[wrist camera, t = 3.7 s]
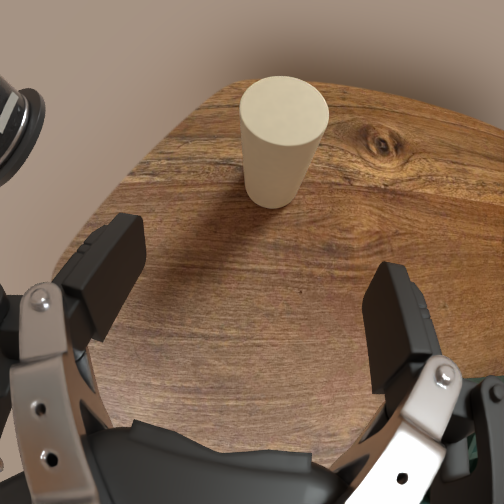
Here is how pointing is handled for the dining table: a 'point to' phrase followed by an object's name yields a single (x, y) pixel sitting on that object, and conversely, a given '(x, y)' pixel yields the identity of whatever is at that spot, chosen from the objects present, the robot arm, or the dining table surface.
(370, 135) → the dining table surface
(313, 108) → the cylinder
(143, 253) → the robot arm
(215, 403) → the dining table surface
